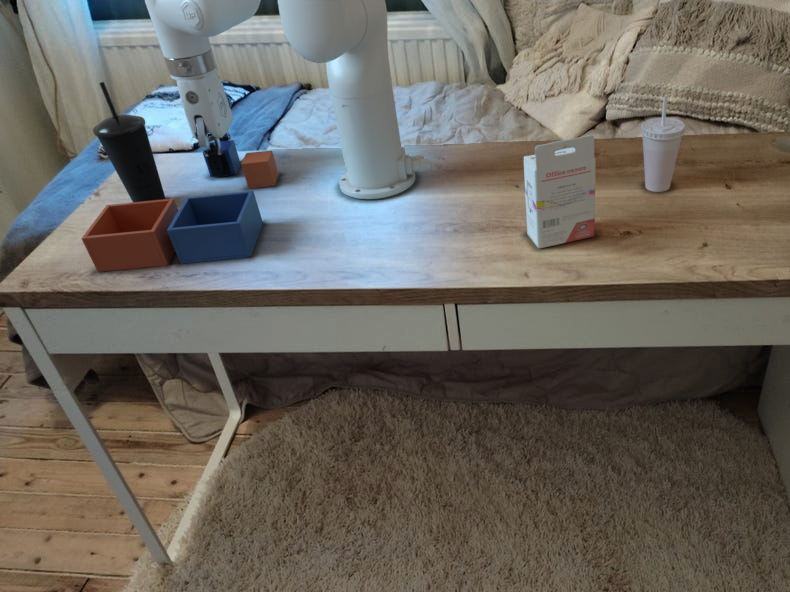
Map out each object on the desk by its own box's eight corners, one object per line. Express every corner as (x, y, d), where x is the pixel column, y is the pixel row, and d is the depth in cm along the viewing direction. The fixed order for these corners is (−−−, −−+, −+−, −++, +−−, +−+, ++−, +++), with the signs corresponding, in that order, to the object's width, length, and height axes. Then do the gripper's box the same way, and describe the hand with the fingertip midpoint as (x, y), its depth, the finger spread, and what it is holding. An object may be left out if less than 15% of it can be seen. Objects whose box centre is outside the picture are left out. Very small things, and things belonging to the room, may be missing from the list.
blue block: (240, 163, 128) (233, 139, 125) (235, 174, 125) (228, 150, 122) (216, 166, 128) (208, 142, 125) (210, 176, 125) (202, 152, 122)
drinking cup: (117, 211, 117) (63, 89, 104) (153, 191, 122) (105, 72, 109) (149, 219, 114) (97, 93, 101) (184, 198, 119) (139, 76, 106)
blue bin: (263, 223, 110) (253, 190, 106) (250, 257, 102) (239, 223, 98) (197, 229, 110) (185, 197, 106) (180, 263, 102) (166, 230, 98)
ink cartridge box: (581, 221, 102) (583, 121, 93) (595, 237, 99) (598, 135, 89) (525, 233, 101) (521, 133, 92) (537, 250, 97) (534, 147, 88)
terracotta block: (279, 174, 123) (272, 150, 120) (274, 186, 120) (267, 161, 117) (253, 177, 123) (246, 152, 120) (248, 188, 120) (240, 163, 117)
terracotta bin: (186, 230, 110) (174, 198, 106) (167, 265, 102) (153, 231, 98) (121, 237, 110) (106, 204, 106) (97, 272, 102) (81, 238, 98)
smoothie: (634, 195, 107) (641, 103, 99) (637, 176, 112) (644, 87, 103) (678, 196, 106) (688, 103, 97) (679, 178, 111) (689, 87, 102)
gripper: (201, 78, 108) (236, 188, 120) (225, 46, 121) (255, 148, 133) (153, 83, 108) (192, 192, 120) (182, 50, 121) (215, 152, 133)
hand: (225, 168), depth 126 cm, fingers closed on blue block, 4 cm apart
